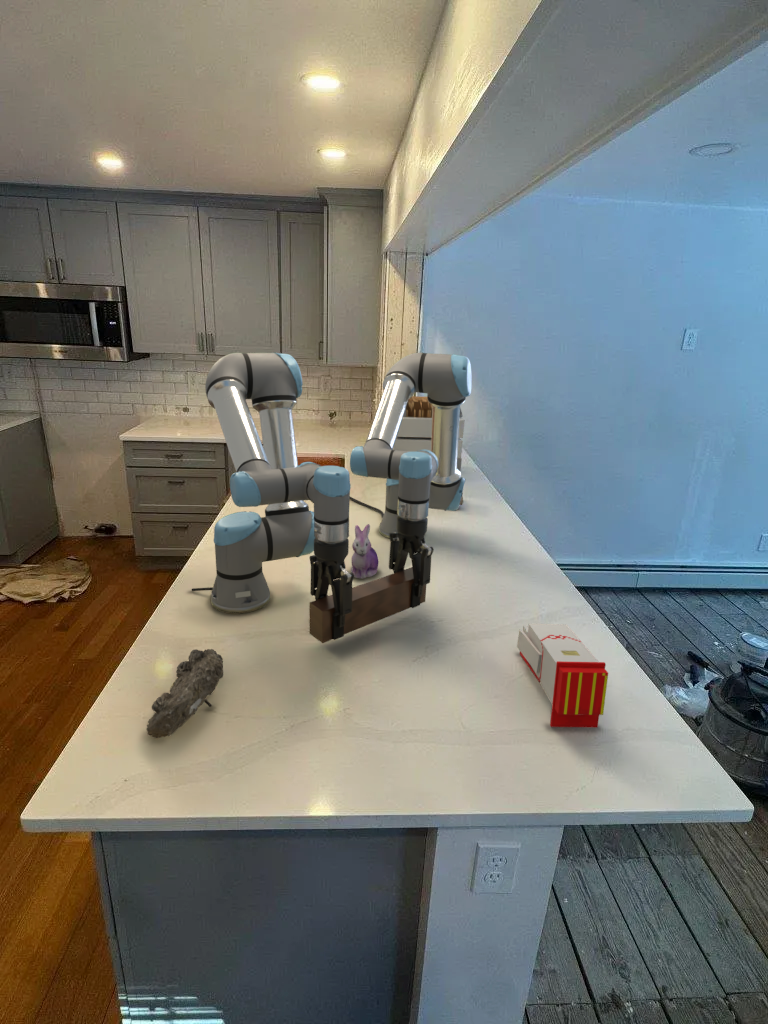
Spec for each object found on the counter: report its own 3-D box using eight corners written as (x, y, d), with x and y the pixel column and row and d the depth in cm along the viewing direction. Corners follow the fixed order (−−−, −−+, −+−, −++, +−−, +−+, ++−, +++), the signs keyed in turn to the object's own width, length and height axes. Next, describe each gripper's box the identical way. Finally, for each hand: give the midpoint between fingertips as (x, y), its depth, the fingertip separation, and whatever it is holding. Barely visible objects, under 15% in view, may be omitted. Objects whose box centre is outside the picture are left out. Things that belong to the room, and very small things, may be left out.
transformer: (382, 463, 289) (386, 382, 275) (445, 464, 293) (451, 384, 279) (390, 482, 257) (394, 392, 243) (460, 483, 261) (468, 394, 247)
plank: (322, 643, 126) (322, 611, 123) (309, 633, 130) (309, 602, 127) (425, 601, 146) (427, 573, 143) (411, 594, 150) (413, 566, 147)
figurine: (357, 582, 163) (358, 534, 158) (342, 568, 171) (343, 521, 166) (386, 576, 167) (388, 529, 162) (370, 563, 176) (372, 517, 171)
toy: (562, 608, 134) (617, 669, 105) (557, 660, 137) (609, 734, 107) (511, 607, 134) (552, 667, 104) (507, 659, 136) (545, 733, 107)
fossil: (175, 650, 120) (224, 619, 115) (206, 680, 123) (256, 650, 118) (122, 731, 101) (179, 697, 96) (161, 764, 104) (219, 733, 99)
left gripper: (293, 528, 126) (294, 620, 134) (342, 556, 114) (340, 655, 121) (321, 522, 131) (321, 610, 139) (371, 547, 118) (368, 643, 126)
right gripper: (376, 508, 141) (373, 592, 149) (428, 531, 129) (421, 620, 136) (398, 503, 146) (394, 584, 154) (450, 524, 133) (443, 611, 141)
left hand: (330, 631), depth 130 cm, fingers closed on plank, 5 cm apart
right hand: (407, 601), depth 145 cm, fingers closed on plank, 5 cm apart
